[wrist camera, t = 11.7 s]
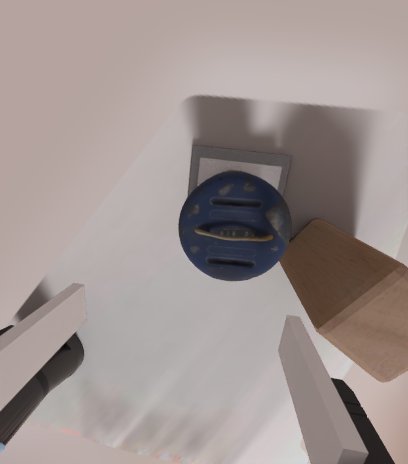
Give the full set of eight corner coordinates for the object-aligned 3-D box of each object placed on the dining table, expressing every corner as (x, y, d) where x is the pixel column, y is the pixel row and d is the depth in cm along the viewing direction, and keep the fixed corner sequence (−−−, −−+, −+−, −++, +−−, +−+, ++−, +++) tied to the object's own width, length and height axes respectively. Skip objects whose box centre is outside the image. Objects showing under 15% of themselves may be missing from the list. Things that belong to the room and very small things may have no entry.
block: (315, 214, 37) (404, 262, 18) (356, 250, 38) (484, 332, 19) (273, 254, 40) (312, 332, 21) (312, 287, 41) (385, 390, 22)
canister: (212, 161, 32) (190, 151, 15) (273, 181, 31) (323, 195, 14) (194, 221, 35) (157, 270, 17) (249, 239, 34) (268, 309, 17)
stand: (185, 237, 41) (179, 246, 36) (193, 145, 36) (188, 141, 31) (269, 250, 40) (275, 261, 35) (290, 156, 35) (299, 154, 30)
